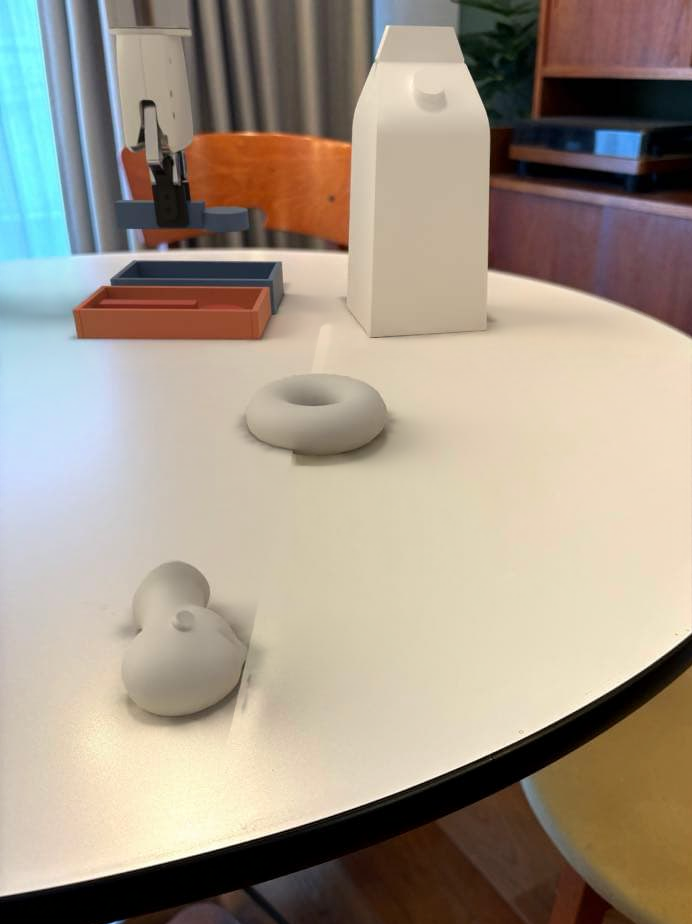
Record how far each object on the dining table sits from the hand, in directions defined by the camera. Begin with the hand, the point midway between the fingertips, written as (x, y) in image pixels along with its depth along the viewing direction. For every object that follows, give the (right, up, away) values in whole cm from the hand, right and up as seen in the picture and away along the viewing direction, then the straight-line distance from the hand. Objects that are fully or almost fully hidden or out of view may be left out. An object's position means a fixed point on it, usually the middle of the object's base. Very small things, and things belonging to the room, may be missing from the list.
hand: (175, 223), depth 87 cm
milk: (+25, -10, 0) cm, 27 cm away
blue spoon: (+1, 0, 0) cm, 1 cm away
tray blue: (+2, -7, +4) cm, 8 cm away
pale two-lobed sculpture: (+15, -39, -50) cm, 65 cm away
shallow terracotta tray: (+2, -13, -6) cm, 14 cm away
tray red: (+2, -13, -6) cm, 15 cm away
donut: (+18, -26, -27) cm, 41 cm away
